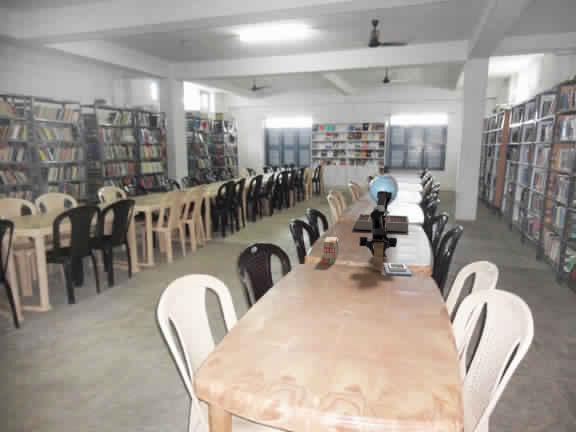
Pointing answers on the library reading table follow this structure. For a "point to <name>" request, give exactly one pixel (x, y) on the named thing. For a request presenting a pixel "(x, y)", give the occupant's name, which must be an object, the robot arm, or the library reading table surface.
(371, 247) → the robot arm
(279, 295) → the library reading table surface
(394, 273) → the blueprint board
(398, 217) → the organizer tray
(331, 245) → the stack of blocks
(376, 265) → the walnut column
